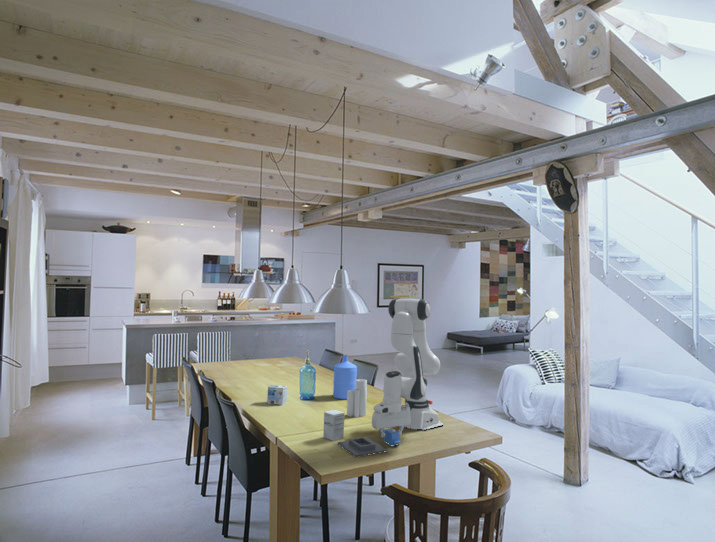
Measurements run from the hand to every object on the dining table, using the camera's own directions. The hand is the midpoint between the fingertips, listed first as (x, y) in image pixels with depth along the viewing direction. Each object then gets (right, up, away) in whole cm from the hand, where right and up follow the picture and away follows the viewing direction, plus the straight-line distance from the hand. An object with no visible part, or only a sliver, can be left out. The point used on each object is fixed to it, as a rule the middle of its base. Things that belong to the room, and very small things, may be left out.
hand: (391, 435), depth 214 cm
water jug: (-25, -7, +89) cm, 92 cm away
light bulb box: (-67, -5, +68) cm, 95 cm away
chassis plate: (-14, -3, -8) cm, 16 cm away
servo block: (0, -4, 0) cm, 4 cm away
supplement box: (-28, -3, +6) cm, 29 cm away
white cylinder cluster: (-16, -5, +46) cm, 49 cm away
